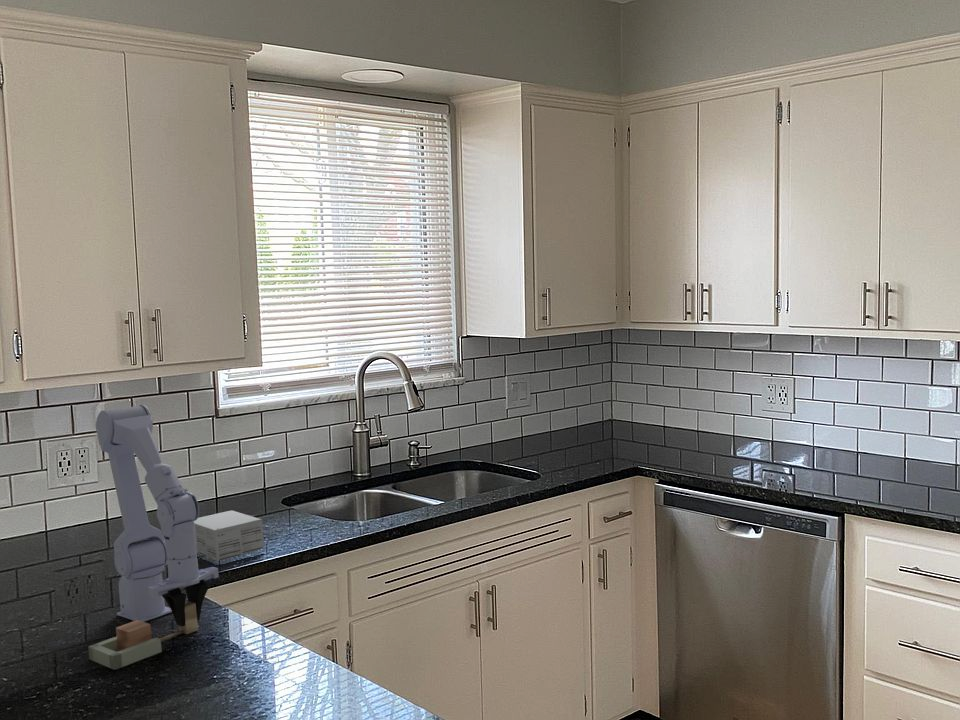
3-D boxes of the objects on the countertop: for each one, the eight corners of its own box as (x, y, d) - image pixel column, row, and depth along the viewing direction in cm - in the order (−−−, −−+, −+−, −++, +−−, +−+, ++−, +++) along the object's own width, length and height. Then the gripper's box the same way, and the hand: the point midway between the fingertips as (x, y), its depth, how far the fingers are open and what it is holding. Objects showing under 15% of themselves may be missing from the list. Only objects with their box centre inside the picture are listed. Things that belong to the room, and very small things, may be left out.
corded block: (118, 653, 177) (115, 625, 176) (188, 626, 188) (185, 600, 188) (131, 658, 174) (128, 629, 173) (201, 630, 185) (198, 603, 185)
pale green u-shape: (89, 659, 175) (88, 646, 174) (136, 642, 182) (134, 629, 182) (114, 669, 169) (113, 656, 169) (161, 651, 176) (160, 638, 176)
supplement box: (266, 554, 238) (263, 518, 237) (217, 567, 229) (214, 530, 229) (235, 543, 251) (232, 508, 250) (188, 554, 242) (185, 519, 241)
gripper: (160, 568, 176) (166, 638, 178) (225, 548, 187) (230, 614, 189) (140, 563, 181) (146, 631, 182) (204, 544, 192) (210, 608, 193)
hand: (188, 622), depth 186 cm, fingers closed on corded block, 3 cm apart
